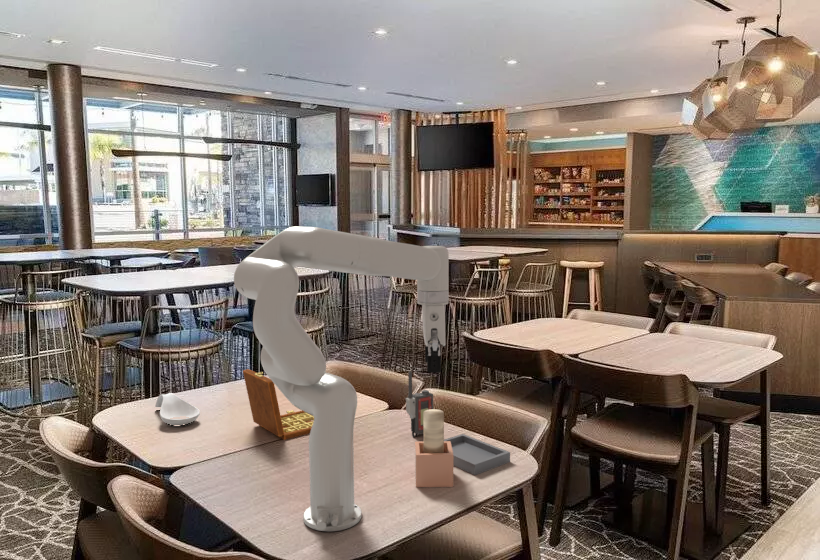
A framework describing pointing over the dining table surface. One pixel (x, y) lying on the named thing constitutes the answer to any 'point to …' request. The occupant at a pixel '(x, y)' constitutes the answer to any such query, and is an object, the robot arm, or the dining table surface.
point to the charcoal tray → (476, 454)
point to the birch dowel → (433, 431)
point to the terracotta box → (433, 466)
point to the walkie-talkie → (417, 407)
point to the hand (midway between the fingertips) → (432, 367)
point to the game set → (273, 408)
